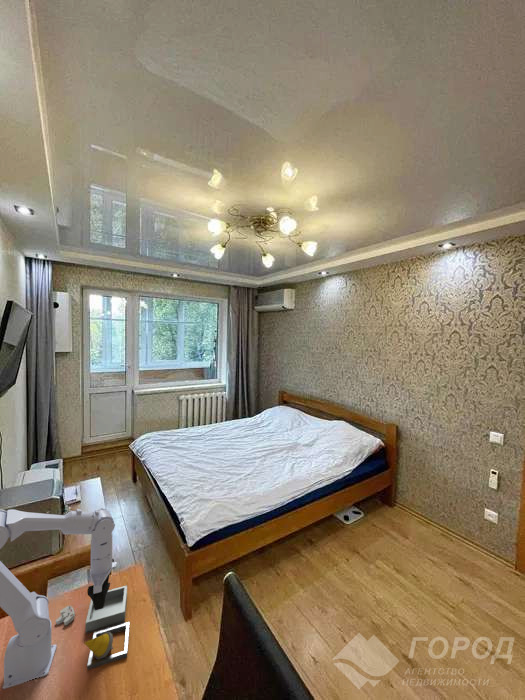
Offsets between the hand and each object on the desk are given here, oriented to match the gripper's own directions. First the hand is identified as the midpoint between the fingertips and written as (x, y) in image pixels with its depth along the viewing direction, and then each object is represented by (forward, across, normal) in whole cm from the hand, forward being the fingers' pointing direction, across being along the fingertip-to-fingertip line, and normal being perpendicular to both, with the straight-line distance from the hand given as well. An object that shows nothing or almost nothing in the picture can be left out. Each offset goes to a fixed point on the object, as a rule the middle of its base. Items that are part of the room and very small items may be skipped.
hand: (101, 597), depth 87 cm
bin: (+10, +6, -1) cm, 12 cm away
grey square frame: (+10, -6, -3) cm, 12 cm away
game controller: (+13, +7, +12) cm, 19 cm away
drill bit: (+10, -6, -4) cm, 13 cm away
